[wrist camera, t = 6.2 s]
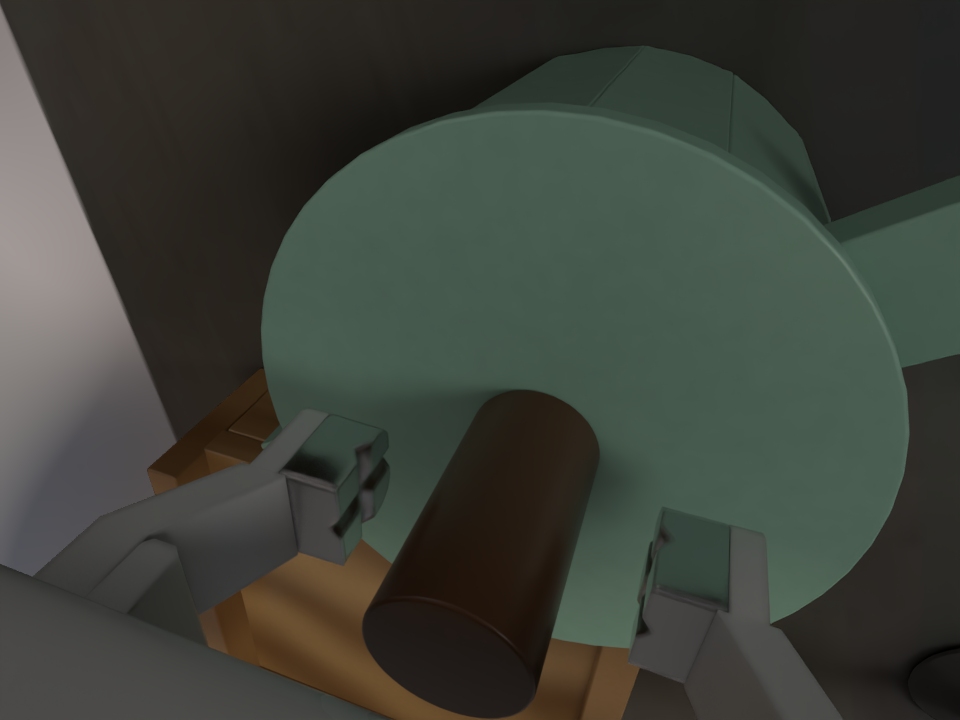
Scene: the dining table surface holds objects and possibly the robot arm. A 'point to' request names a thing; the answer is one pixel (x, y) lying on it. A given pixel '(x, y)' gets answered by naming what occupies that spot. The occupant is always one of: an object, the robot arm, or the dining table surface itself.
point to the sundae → (938, 685)
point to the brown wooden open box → (350, 601)
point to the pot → (779, 178)
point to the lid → (578, 379)
